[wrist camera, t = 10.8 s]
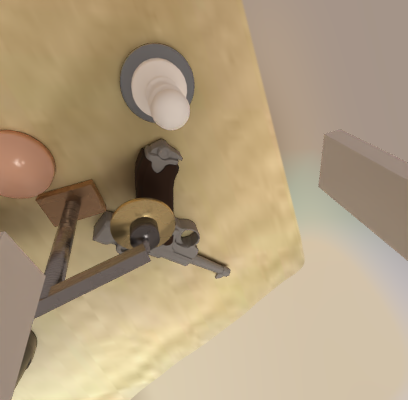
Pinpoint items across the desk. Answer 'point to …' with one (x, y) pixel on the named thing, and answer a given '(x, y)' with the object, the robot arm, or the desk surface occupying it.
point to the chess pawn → (161, 93)
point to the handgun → (163, 190)
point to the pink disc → (24, 165)
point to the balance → (120, 230)
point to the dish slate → (144, 54)
